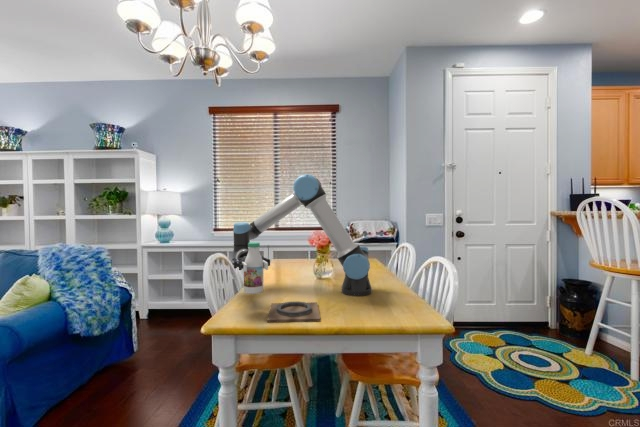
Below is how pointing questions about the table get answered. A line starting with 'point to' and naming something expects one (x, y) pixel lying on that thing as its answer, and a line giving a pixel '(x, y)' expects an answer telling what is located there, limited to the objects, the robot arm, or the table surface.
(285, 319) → the collar stand
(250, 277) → the milk bottle
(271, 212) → the robot arm
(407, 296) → the table surface
